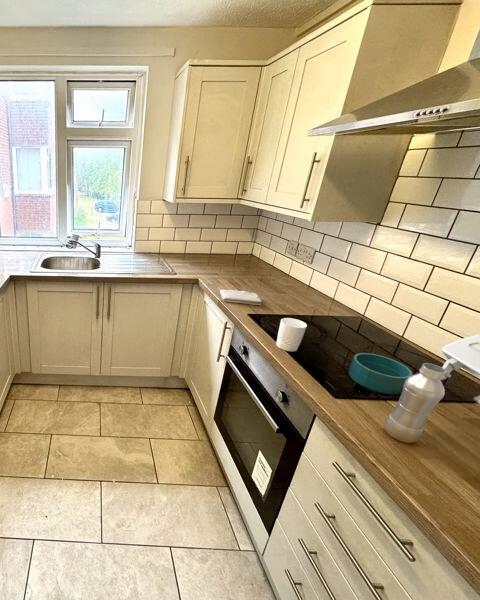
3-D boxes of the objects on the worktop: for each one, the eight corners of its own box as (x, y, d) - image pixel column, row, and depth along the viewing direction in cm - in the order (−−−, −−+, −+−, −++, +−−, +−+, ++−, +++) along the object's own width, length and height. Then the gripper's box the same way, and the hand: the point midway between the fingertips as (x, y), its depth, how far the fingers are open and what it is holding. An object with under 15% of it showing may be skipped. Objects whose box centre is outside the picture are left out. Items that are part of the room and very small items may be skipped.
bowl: (390, 373, 101) (397, 357, 99) (414, 399, 89) (423, 382, 87) (341, 365, 105) (346, 349, 103) (358, 389, 94) (365, 372, 91)
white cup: (277, 339, 121) (284, 315, 117) (301, 347, 116) (309, 322, 112) (271, 346, 116) (278, 322, 112) (296, 355, 111) (303, 329, 107)
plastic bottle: (412, 432, 78) (449, 364, 70) (421, 451, 73) (461, 380, 65) (378, 422, 81) (410, 356, 74) (384, 439, 76) (418, 370, 68)
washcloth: (262, 306, 151) (263, 300, 150) (222, 302, 155) (223, 296, 154) (256, 297, 161) (257, 291, 160) (219, 293, 166) (220, 288, 164)
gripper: (478, 321, 73) (412, 353, 78) (594, 374, 54) (496, 411, 60) (491, 340, 74) (425, 370, 79) (609, 398, 55) (512, 432, 61)
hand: (456, 388), depth 69 cm, fingers open, 8 cm apart
